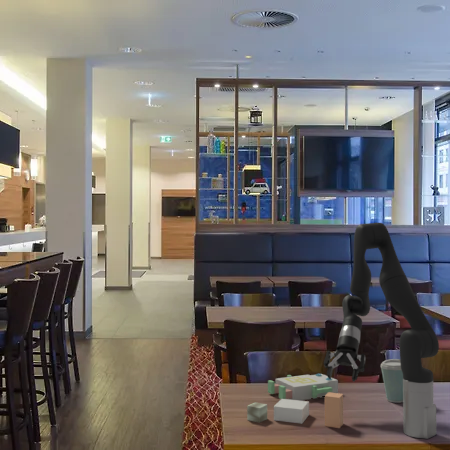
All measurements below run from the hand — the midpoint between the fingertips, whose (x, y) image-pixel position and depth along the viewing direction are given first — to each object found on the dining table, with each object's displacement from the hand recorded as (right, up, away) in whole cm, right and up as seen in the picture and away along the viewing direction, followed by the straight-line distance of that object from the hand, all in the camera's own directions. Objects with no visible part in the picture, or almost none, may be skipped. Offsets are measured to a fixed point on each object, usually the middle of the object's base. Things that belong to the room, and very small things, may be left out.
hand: (341, 379), depth 202 cm
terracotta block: (-4, -13, -9) cm, 16 cm away
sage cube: (-30, -13, -3) cm, 33 cm away
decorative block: (-10, -14, +29) cm, 33 cm away
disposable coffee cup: (+24, -14, +19) cm, 34 cm away
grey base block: (-18, -13, -1) cm, 22 cm away
